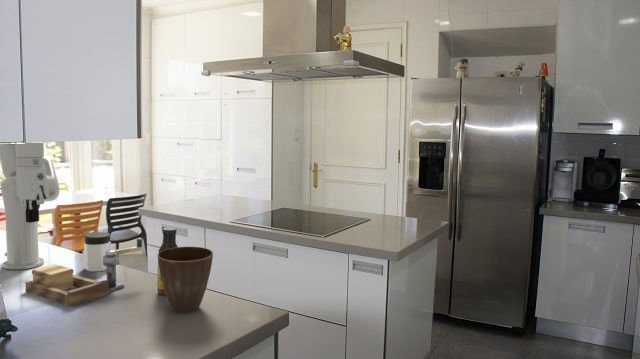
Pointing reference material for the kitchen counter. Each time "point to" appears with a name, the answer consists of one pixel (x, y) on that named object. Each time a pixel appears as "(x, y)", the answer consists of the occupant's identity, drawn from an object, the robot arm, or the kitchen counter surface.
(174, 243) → the sauce bottle
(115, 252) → the crank
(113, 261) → the winch post
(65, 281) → the tan wooden block
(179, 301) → the plant pot
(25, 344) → the kitchen counter surface
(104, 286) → the bay
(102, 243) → the jar
